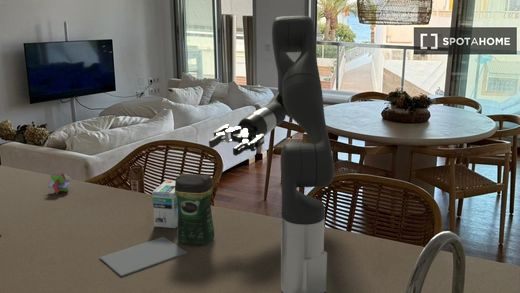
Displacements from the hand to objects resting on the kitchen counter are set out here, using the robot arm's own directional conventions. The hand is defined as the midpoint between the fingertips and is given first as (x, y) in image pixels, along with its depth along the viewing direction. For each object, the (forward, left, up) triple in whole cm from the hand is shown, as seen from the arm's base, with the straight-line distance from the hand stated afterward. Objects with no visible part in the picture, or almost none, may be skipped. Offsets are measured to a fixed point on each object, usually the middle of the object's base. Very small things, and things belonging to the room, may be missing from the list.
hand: (221, 148), depth 136 cm
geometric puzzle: (+62, +23, -24) cm, 70 cm away
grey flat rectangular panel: (+1, +24, -24) cm, 34 cm away
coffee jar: (0, +9, -24) cm, 26 cm away
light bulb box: (+16, +7, -24) cm, 30 cm away
